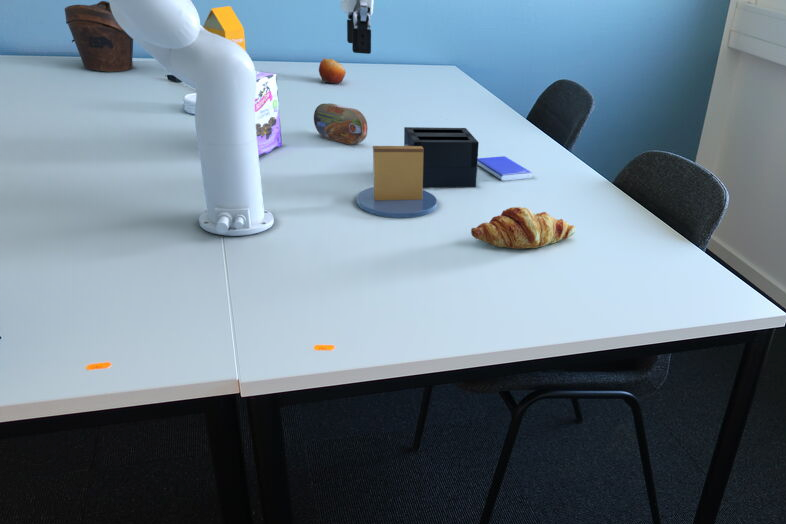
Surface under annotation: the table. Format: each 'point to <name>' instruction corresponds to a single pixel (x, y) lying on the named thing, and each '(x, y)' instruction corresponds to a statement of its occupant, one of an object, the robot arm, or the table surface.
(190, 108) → the white round container
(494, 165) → the blue book
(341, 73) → the fruit
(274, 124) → the candy box
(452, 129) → the toaster
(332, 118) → the tin
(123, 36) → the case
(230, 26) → the orange juice
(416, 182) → the toast
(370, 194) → the plate
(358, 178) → the table surface
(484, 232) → the croissant
